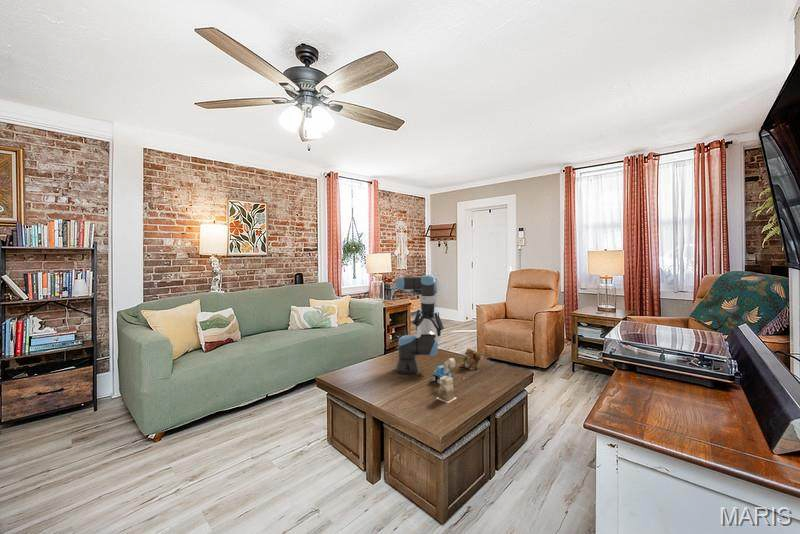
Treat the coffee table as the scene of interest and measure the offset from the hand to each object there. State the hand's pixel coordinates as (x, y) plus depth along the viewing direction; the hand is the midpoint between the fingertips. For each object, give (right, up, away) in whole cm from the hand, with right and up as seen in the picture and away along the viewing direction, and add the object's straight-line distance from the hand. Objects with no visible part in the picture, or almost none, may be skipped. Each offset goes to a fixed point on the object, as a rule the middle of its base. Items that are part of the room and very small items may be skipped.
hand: (428, 339), depth 190 cm
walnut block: (+9, -29, -11) cm, 33 cm away
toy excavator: (+11, -30, +11) cm, 33 cm away
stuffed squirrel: (+33, -28, +39) cm, 58 cm away
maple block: (+9, -24, -12) cm, 28 cm away
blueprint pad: (+9, -30, -8) cm, 33 cm away
